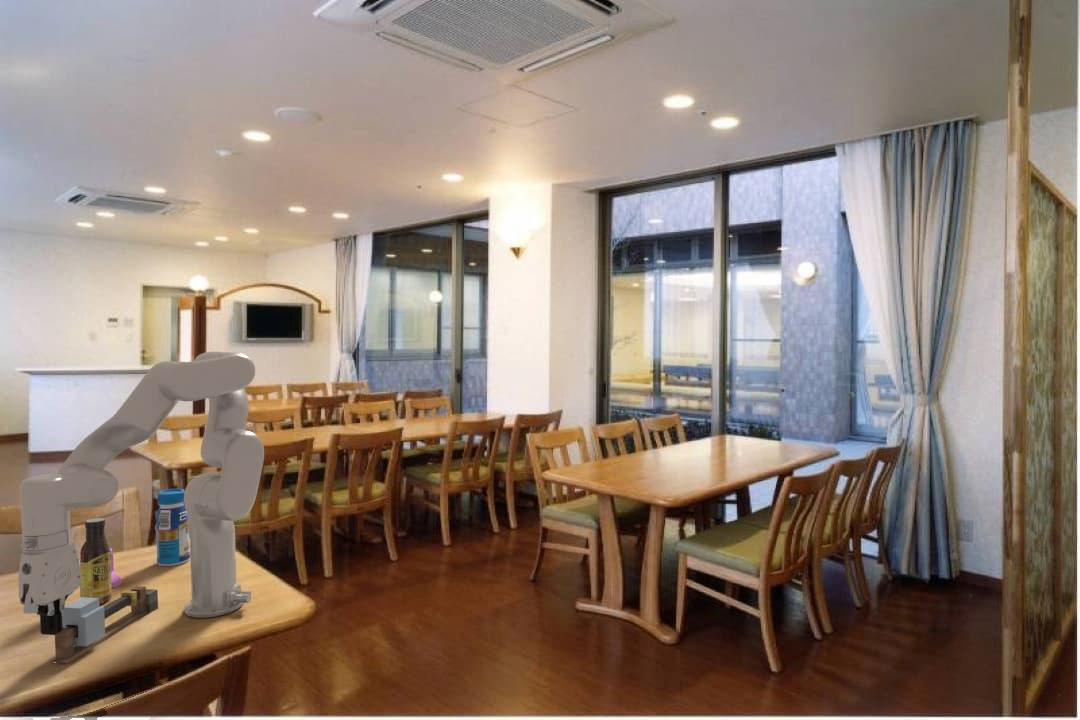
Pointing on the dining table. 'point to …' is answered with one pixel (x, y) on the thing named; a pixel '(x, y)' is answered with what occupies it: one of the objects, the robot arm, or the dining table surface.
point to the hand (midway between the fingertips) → (51, 632)
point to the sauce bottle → (95, 562)
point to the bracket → (114, 577)
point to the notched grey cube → (85, 620)
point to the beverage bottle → (172, 528)
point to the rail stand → (140, 606)
